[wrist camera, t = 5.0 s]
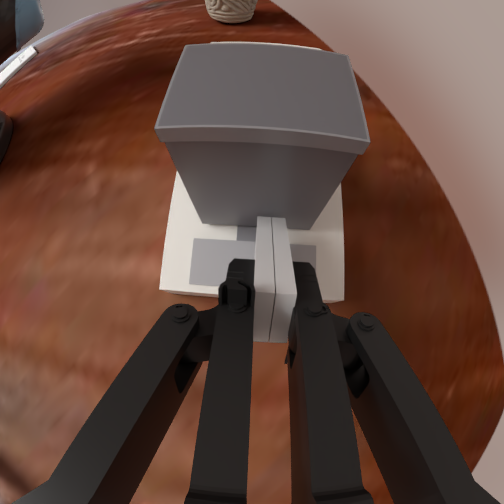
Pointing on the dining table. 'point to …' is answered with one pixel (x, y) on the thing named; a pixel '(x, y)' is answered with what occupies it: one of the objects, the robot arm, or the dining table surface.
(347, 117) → the switch tab
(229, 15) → the carving
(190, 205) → the switch panel
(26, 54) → the external hard drive
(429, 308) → the dining table surface
